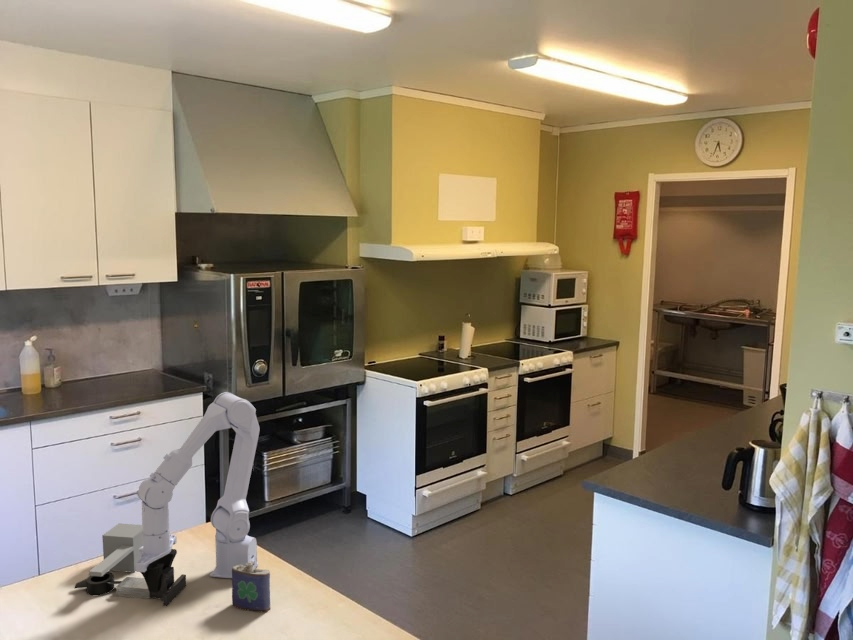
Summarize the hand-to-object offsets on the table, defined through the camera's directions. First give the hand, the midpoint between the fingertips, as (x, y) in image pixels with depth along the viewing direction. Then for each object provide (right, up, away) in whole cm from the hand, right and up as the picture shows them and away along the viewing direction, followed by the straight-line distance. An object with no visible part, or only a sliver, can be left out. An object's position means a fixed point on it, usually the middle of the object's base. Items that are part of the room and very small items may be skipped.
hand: (158, 586), depth 158 cm
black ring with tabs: (-14, -2, +2) cm, 15 cm away
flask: (+23, -3, -5) cm, 23 cm away
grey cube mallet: (-14, -1, +8) cm, 16 cm away
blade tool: (-2, -2, +1) cm, 3 cm away
